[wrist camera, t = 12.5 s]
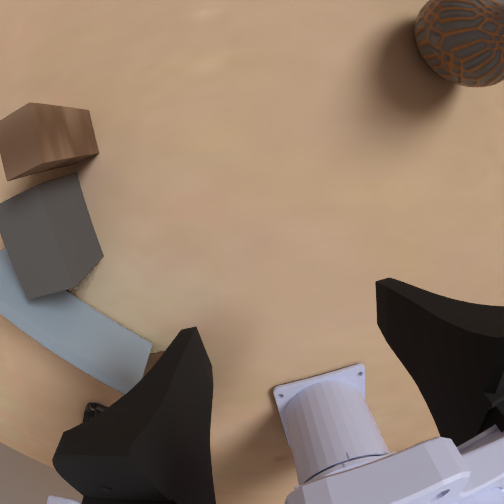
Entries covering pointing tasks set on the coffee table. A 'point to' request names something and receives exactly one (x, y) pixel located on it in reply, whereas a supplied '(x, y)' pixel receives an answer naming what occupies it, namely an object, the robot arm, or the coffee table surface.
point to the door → (75, 332)
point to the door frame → (48, 146)
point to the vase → (463, 40)
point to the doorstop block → (49, 236)
